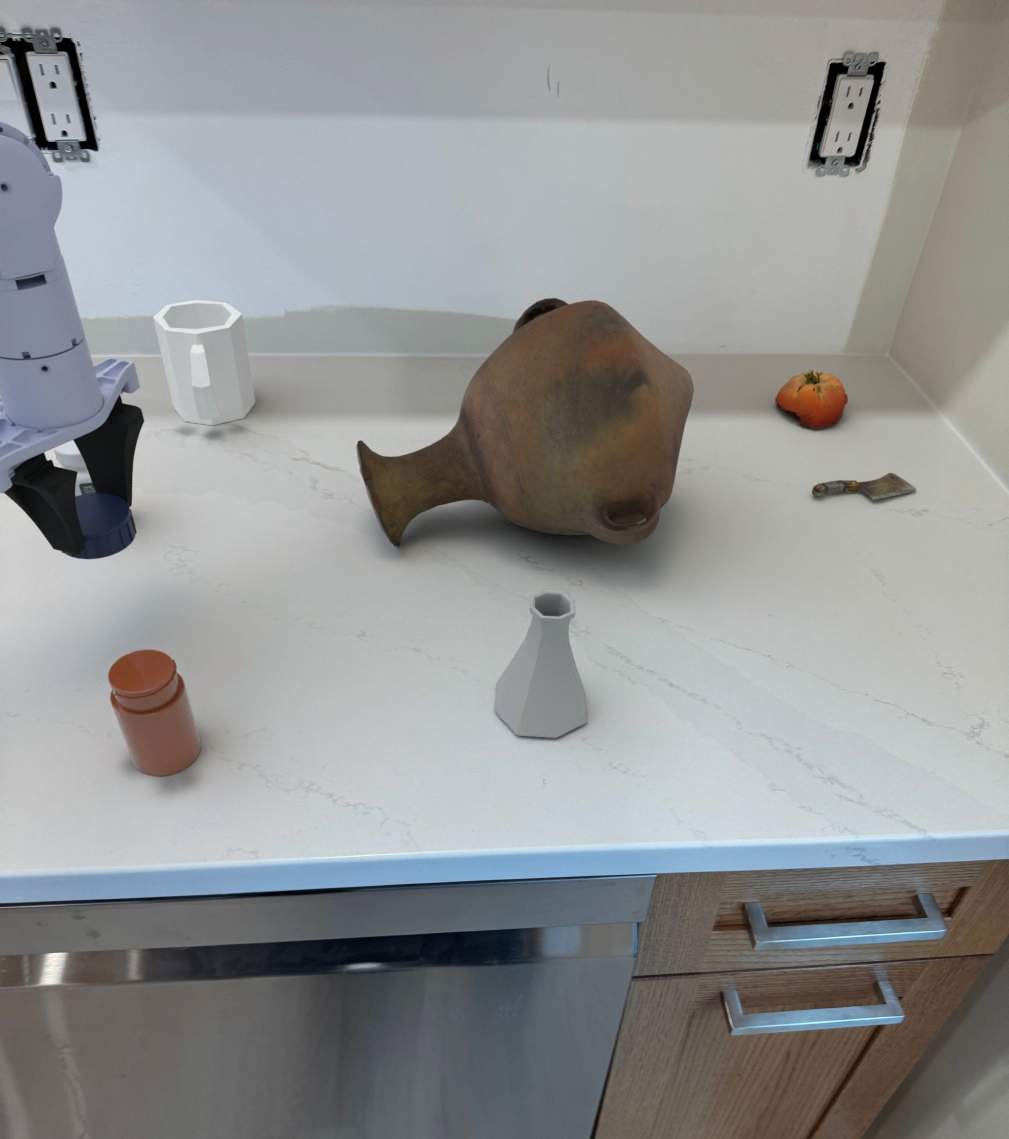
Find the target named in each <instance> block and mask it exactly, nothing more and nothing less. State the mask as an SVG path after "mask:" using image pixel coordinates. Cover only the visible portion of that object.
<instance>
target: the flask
mask: <svg viewBox="0 0 1009 1139" xmlns="http://www.w3.org/2000/svg"><path fill="white" fill-rule="evenodd" d="M529 612H530V614H531V615H532V616H531V620H530V623H529V627H528V630H527V633H526V635H525V637H524V639H523V640H522V643H521V644H520V646H519V648H518V649H517V651H516V652H515V654H514V656H513V657H512V659H511V660H510V662H509V663H508V665H507V666H506V668H505V669H504V670H503V672H502V673H501V675H500V676H499V678H498V680H497V682H496V683H495V694H494V696H495V697H494V713H496V714H497V716H498V717H500V719H501V720H502V721H503V722H504V723H505V724H506V725H507V727H508V728H509V729H510V730H511V731H512V732H513V733H514V734H515V735H516V736H518V737H519V736H521V737H535V738H536V737H538V738H550V739H557V738H559V737H561V736H563V735H564V734H567V733H568V732H569V733H570V732H571V731H573V730H575V729H577V728H578V727H581V726H583V725H585V724H587V722H588V719H587V718H588V716H587V714H588V713H587V695H586V691H585V688H584V684H583V682H582V678H581V675H580V673H579V670H578V666H577V663H576V660H575V657H574V653H573V650H572V646H571V643H570V632H569V630H570V623H571V620H573V619H574V618H575V617H576V600H575V599H574V598H573V597H572V596H571V595H570V594H569V593H567V592H566V591H565V590H561V589H550V588H549V589H547V588H546V589H542V590H540V591H538V592H535V593H533V594H530V596H529Z"/></svg>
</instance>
